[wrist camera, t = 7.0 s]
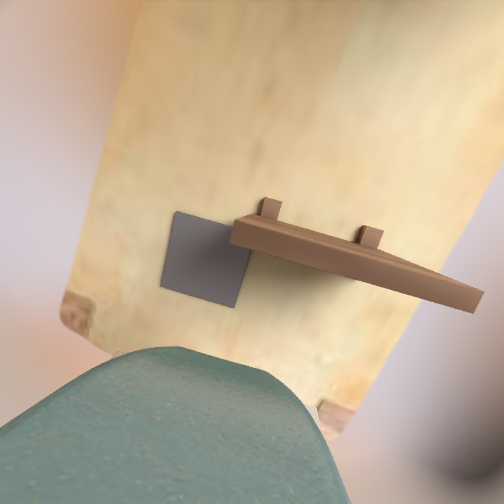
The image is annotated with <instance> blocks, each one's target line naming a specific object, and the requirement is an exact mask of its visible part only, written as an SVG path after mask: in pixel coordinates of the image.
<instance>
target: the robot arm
mask: <svg viewBox="0 0 504 504" xmlns="http://www.w3.org/2000/svg"><path fill="white" fill-rule="evenodd" d="M125 354H126V353H122V352H119V351H118V352H117V353H116V354H115V355H114V356H113V357H112V358H111V359H114V358H116V357H119V356H122V355H125ZM111 359H110V360H111ZM303 404H304V403H303ZM304 406H305V407H306V409H307V410H308V411H309V413H310V414H311V416H312V417H313V419H314V421H315V422H316V424H317V426H318V428H319V429H320V431H321V427H320V422H319V418H318V413H317V408H316V407H314V406H311V405H307V404H304ZM321 433H322V432H321Z"/></svg>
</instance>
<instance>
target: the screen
mask: <svg viewBox="0 0 504 504" xmlns="http://www.w3.org/2000/svg"><path fill="white" fill-rule="evenodd" d="M281 204H282V202H281V201H277V200H274V199H270V198H267V197H265V200H264V204H263V207H262V211H261V214H260V216H259V215H256V214H250V215H247V216H245V217H242V218H240V219H237V220H235V222H234V226H233V230H232V233H231V237H230V241H229V243H231V244H235V245H238V246H242V247H245V248H249V249H252V250H256V251H259V252H262V253H266V254H269V255H273V256H276V257H280V258H283V259H287V260H290V261H293V262H297V263H300V264H304V265H307V266H311V267H314V268H318V269H321V270H324V271H328V272H331V273H335V274H338V275H342V276H345V277H349V278H352V279H355V280H359V281H362V282H366V283H369V284H373V285H376V286H380V287H383V288H387V289H390V290H393V291H397V292H400V293H404V294H407V295H411V296H414V297H418V298H421V299H424V300H428V301H431V302H435V303H438V304H442V305H445V306H449V307H452V308H455V309H459V310H463V311H466V312H469V313H474V311H475V309H476V307H477V305H478V304H479V301H480V300H481V298H482V295H483V294H484V292H483V291H481V290H478V289H476V288H473V287H471V286H468V285H466V284H463V283H461V282H458V281H456V280H453V279H451V278H448V277H446V276H443V275H441V274H439V273H436V272H434V271H431V270H429V269H426V268H424V267H421V266H419V265H416V264H414V263H411V262H409V261H406V260H404V259H401V258H399V257H396V256H394V255H391V254H389V253H386V252H384V251H381V250H378V249H377V247H378V245H379V242H380V240H381V237H382V235H383V232H384V231H383V230H379V229H376V228H372V227H369V226H365V225H363V228H362V231H361V233H360V236H359V239H358V241H357V243H354V242H350V241H347V240H343V239H340V238H336V237H333V236H329V235H326V234H322V233H319V232H315V231H312V230H308V229H305V228H301V227H298V226H294V225H291V224H287V223H284V222H280V221H277V217H278V214H279V211H280V207H281Z"/></svg>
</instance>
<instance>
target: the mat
mask: <svg viewBox="0 0 504 504" xmlns="http://www.w3.org/2000/svg"><path fill="white" fill-rule="evenodd" d="M232 230H233V227H231V226H227V225H224V224H220V223H217V222H213V221H210V220H206V219H203V218H199V217H196V216H192V215H189V214H186V213H182V212H179V211H176V214H175V218H174V223H173V228H172V233H171V238H170V243H169V247H168V252H167V257H166V262H165V267H164V271H163V276H162V281H161V287H164V288H167V289H171V290H174V291H177V292H181V293H184V294H188V295H191V296H194V297H198V298H201V299H204V300H208V301H211V302H214V303H218V304H221V305H225V306H228V307H231V308H234V307H235V304H236V300H237V297H238V293H239V289H240V286H241V282H242V279H243V275H244V272H245V268H246V265H247V261H248V258H249V254H250V251H251V249H249V248H245V247H242V246H238V245H235V244H231V243H229V241H230V237H231V233H232Z"/></svg>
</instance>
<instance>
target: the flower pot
mask: <svg viewBox="0 0 504 504" xmlns="http://www.w3.org/2000/svg"><path fill="white" fill-rule="evenodd" d="M0 504H351V502H350V499H349V497H348V494H347V492H346V489H345V486H344V484H343V481H342V479H341V476H340V474H339V471H338V469H337V466H336V464H335V461H334V459H333V456H332V454H331V452H330V450H329V447H328V445H327V443H326V441H325V439H324V437H323V435H322V433H321V431H320V429H319V428H318V426H317V424H316V422H315V421H314V419H313V417H312V416H311V414H310V413H309V411H308V410H307V409H306V407H305V406H304V404H303V403H302V402H301V401H300V400H299V398H298V397H297V396H296V395H295V394H294V393H293V392H292V391H291V390H290V389H289V388H288V387H287V386H285V385H284V384H283V383H282V382H281V381H279V380H278V379H277V378H275V377H274V376H272V375H271V374H269V373H268V372H266V371H263V370H260V369H256V368H253V367H249V366H246V365H242V364H238V363H235V362H231V361H227V360H224V359H220V358H217V357H213V356H210V355H207V354H203V353H200V352H197V351H194V350H190V349H187V348H183V347H155V348H148V349H143V350H138V351H134V352H131V353H128V354H125V355H122V356H119V357H116V358H114V359H111V360H109V361H107V362H105V363H102V364H100V365H98V366H96V367H94V368H92V369H90V370H89V371H87V372H85V373H84V374H82V375H80V376H78V377H77V378H75V379H74V380H72V381H70V382H69V383H67V384H66V385H64V386H62V387H61V388H59V389H58V390H56V391H55V392H53V393H52V394H51V395H49V396H47V397H46V398H44V399H43V400H41V401H40V402H38V403H37V404H35V405H34V406H32V407H31V408H29V409H28V410H26V411H25V412H23V413H22V414H21V415H19V416H17V417H16V418H14V419H13V420H11V421H10V422H8V423H7V424H5V425H4V426H2V427H1V428H0Z"/></svg>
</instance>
